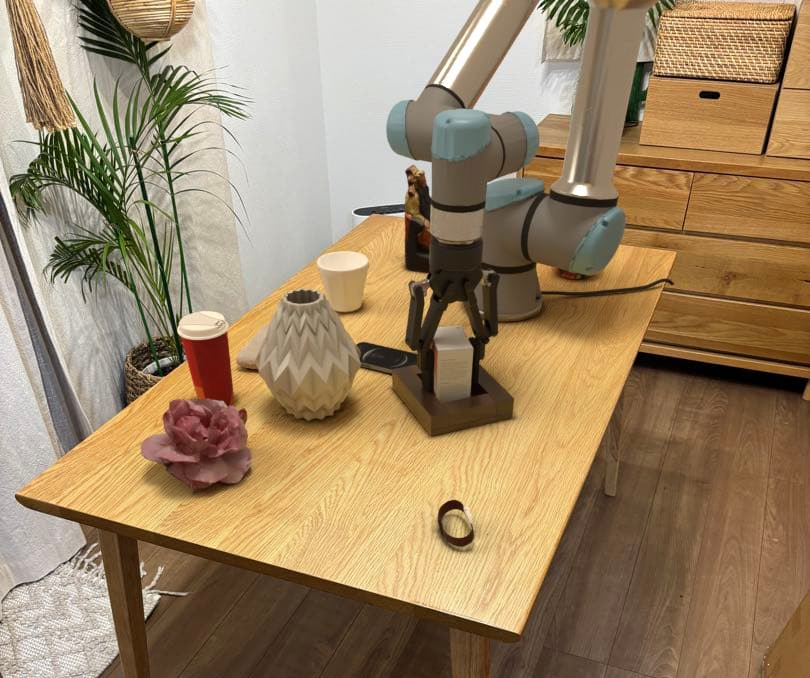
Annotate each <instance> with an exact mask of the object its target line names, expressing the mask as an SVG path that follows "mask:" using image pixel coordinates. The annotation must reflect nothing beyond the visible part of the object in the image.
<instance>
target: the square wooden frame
mask: <svg viewBox="0 0 810 678" xmlns="http://www.w3.org/2000/svg"><path fill="white" fill-rule="evenodd" d="M391 381H392V382H391V383H392V384H391V385H392V389H393V391H394V392H395V393H396V395H397V396H398V397H399V398H400V399H401V401H402V402H403V403H404V405H405V406H406V407H407V408H408V410H409V411H410V412H411V413H412V415H413V416H414V417H415V419H416V420H417V421H418V422H419V423H420V425H421V426H422V427H423V429H424V430H425V431H426V432H427V433H428V435H429V436H430V437H435V436H438V435H443V434H447V433H452V432H456V431H460V430H465V429H468V428H474V427H477V426H483V425H487V424H491V423H495V422H501V421H505V420H509V419H512V418H513V416H514V406H515V397H514V396H513V395H512V394H511V393H510V392H509V391H508V390H506V389H505V388H504V387H503V386H502V385H501V383H500V382H498V381H497V379H496V378H494V377H493V376H492V375H491V374H490V372H488V371H487V370H486V369H485V368H484V367H483V366H482V365H481V364H479V378H478V382H475V383H474V382H473V381H472V380H471V392H470V397H469V398H464V399H460V400H455V401H450V402H446V403H442V404H441V402H440V401H439V400H438V399H437V398H436V397H435V396H434V394H433V393H432V392H431V391H430V392H428V391H427V389H426V388H425V387H424V386H423V385H422V371H421V370H420V369H419V368H418V366H417V365H412V366H407V367H402V368H397V369H392V375H391Z"/></svg>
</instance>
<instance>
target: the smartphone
mask: <svg viewBox="0 0 810 678" xmlns="http://www.w3.org/2000/svg"><path fill="white" fill-rule="evenodd" d="M355 344H356V346H357V347H358V349H359V350H360V352H361V355H360V359H359V360H360V363H361V366H360V367H362V368H367V369H370V370H375V371H379V372H384V373H388V374H392V369H397V368H402V367H407V366H412V365H417V352H413V351H407V350H403V349H398V348H395V347H390V346H385V345H381V344H375V343H372V342H367V341H359V342H358V343H355Z"/></svg>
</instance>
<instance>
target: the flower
mask: <svg viewBox="0 0 810 678" xmlns="http://www.w3.org/2000/svg"><path fill="white" fill-rule="evenodd" d="M247 421H248V411H247V409H246V408H245V407H242V408H241V409H239V410H238V409H237V408H236V406H234V405H232V404H231V405H230V406H229V407H228V406H227V405H226V404H225V403H224V401H218V400H211V399H209V398H208V399H198V398H197V397H195V398H193V399H191V400H188V399H185V398H182V399H181V398H176V399H173V400H171V401H170V402H169V403H168V408H167V410H166V411H165V412H164V413H163V415H162V423H163V430H164V433H158V434H153V435H150V436H148V437H146V438H145V439H144V440H143V441H142V442H141V443H140V450H141V451H140V455H141V456H142V457H143V458H145V459H146V460H147V461H148V462H153V463H156V464H161V465H163V466H164V467H165V470H166V472H167V474H169V475H171V476H172V477H174V478H176V479H177V480H179V481H181V482H184V483H185V484H186V485H187V486H188V487H189V489H192V490H196V489H206V488H208V487H210V486H212V485H213V484H214V483H218V482H221V483H225V484H229V485H235V484H236V483H240V481H241V480H242V478H243V477H244V476H245V474H246V473H247V471H248V470H249V469H250V468H251V461H252V452H251V450H250V449H249V447H248V446H247V443H248V437H249V436H248V435H249V434H248V430H247V428H246V424H247Z"/></svg>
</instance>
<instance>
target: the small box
mask: <svg viewBox="0 0 810 678" xmlns="http://www.w3.org/2000/svg"><path fill="white" fill-rule="evenodd" d="M430 349H431V350H432V351H433V352H434V371H433V391H431V392H432V393H433V394H434V396H435V397H436V398H437V399H438V400H439V401H440V402H441V404H442V403H446V402H450V401H455V400H460V399H464V398H469V397H470V392H471V377H472V362H473V347H472V345H471V343H470V341H469V336H468V335H467V333H466V330H465V329H464V326H463V325H446V326H438V328H437V331H436V333H435V336H434V338H433V341H432V344H431V346H430Z"/></svg>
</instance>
